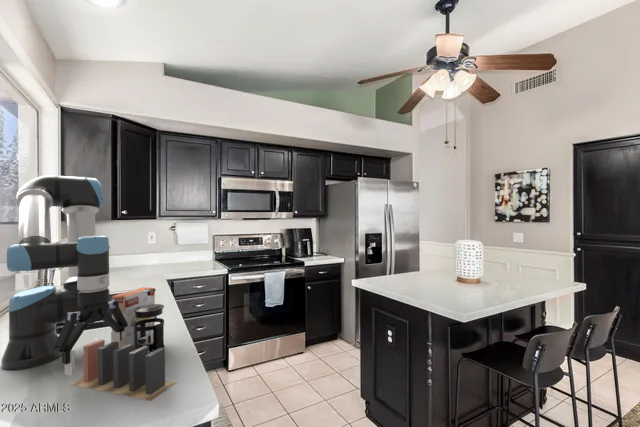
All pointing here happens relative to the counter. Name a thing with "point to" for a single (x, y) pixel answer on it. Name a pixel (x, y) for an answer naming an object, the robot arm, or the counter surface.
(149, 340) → the french press
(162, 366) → the domino
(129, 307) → the cracker box
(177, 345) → the counter surface
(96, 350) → the loose domino
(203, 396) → the counter surface
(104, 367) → the domino
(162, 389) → the oak board
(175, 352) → the counter surface
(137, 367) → the domino
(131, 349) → the domino
